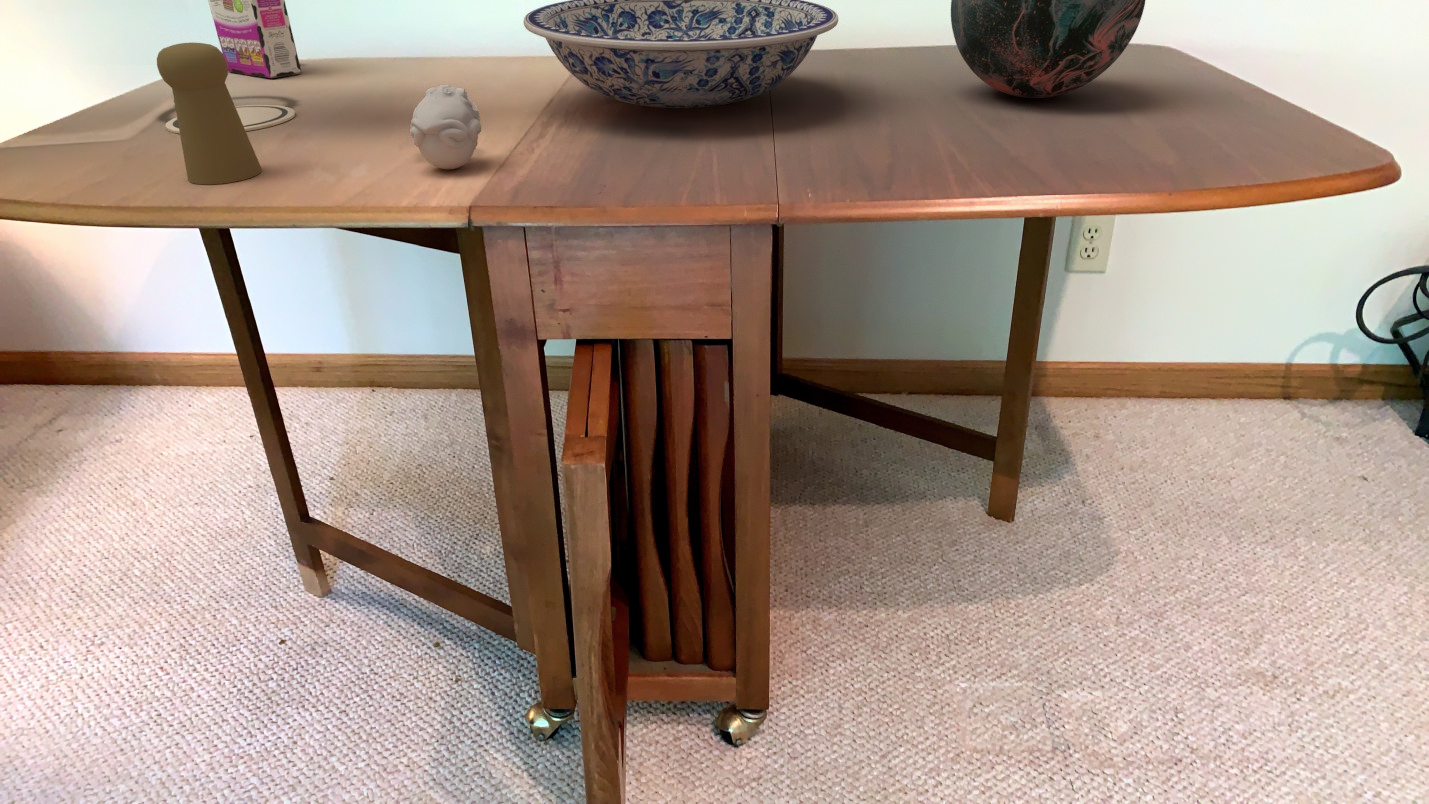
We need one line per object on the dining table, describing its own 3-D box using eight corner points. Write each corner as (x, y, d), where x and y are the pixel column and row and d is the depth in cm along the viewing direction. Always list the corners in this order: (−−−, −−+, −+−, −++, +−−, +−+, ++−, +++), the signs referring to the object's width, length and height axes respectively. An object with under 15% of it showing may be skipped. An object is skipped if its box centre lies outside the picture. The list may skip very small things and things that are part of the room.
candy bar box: (305, 73, 122) (273, -61, 114) (271, 79, 119) (236, -59, 111) (259, 66, 128) (225, -62, 120) (225, 72, 124) (188, -60, 116)
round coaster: (148, 138, 92) (147, 135, 92) (186, 111, 103) (185, 108, 103) (281, 130, 94) (281, 127, 94) (305, 104, 105) (304, 101, 105)
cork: (204, 188, 76) (161, 52, 71) (177, 176, 80) (134, 45, 74) (273, 173, 80) (238, 42, 74) (245, 161, 84) (209, 36, 78)
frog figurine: (500, 158, 83) (489, 80, 79) (465, 180, 77) (452, 96, 74) (440, 155, 84) (427, 78, 81) (402, 176, 78) (386, 94, 75)
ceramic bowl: (584, 156, 83) (574, 41, 78) (503, 90, 110) (492, 2, 105) (894, 116, 95) (902, 14, 90) (752, 65, 122) (752, -15, 117)
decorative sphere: (923, 81, 110) (940, -104, 100) (1082, 77, 111) (1115, -108, 101) (969, 118, 93) (996, -100, 83) (1157, 113, 94) (1207, -105, 84)
